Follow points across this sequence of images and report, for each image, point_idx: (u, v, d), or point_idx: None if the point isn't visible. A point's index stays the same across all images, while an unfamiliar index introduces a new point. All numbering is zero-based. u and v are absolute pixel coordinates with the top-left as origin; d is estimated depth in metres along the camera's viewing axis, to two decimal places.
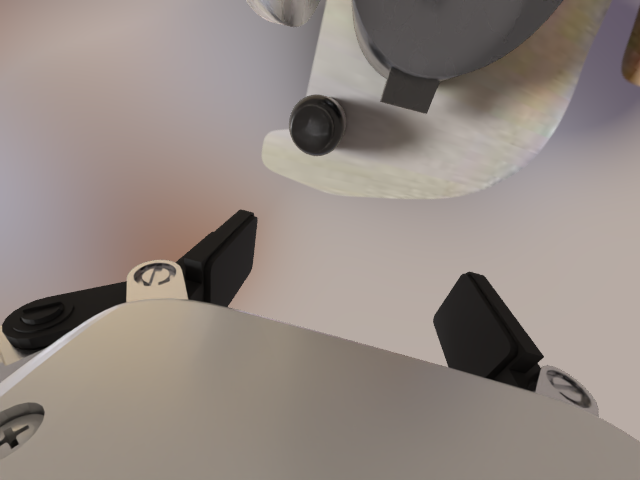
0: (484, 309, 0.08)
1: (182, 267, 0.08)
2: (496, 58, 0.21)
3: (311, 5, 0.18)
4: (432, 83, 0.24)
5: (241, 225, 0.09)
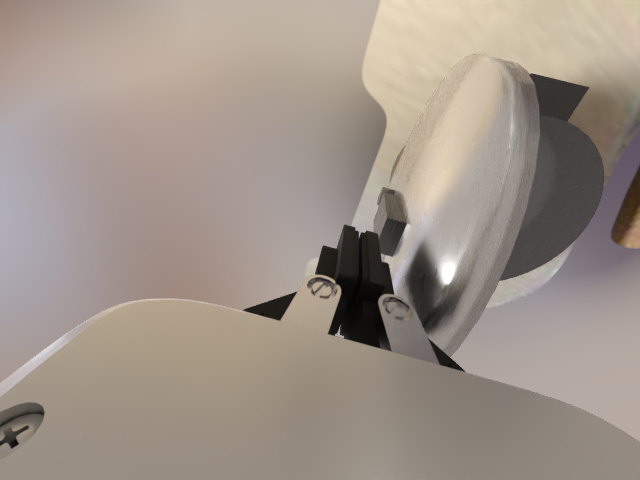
0: (361, 256, 0.10)
1: None
2: (511, 276, 0.28)
3: None
4: None
5: (354, 240, 0.10)
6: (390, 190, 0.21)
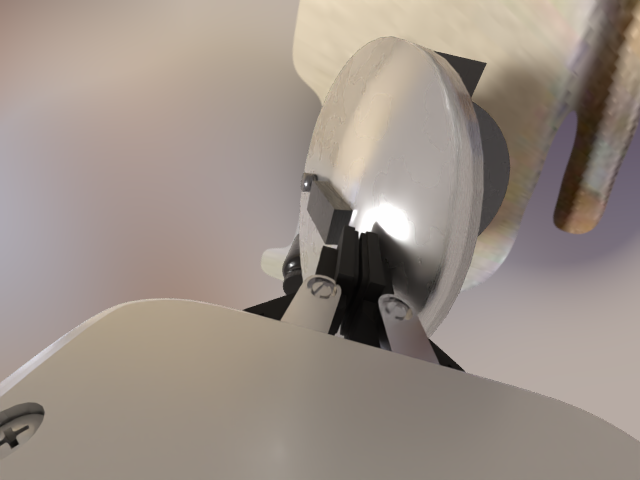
0: (361, 256, 0.10)
1: None
2: None
3: None
4: None
5: (354, 240, 0.10)
6: (312, 175, 0.21)
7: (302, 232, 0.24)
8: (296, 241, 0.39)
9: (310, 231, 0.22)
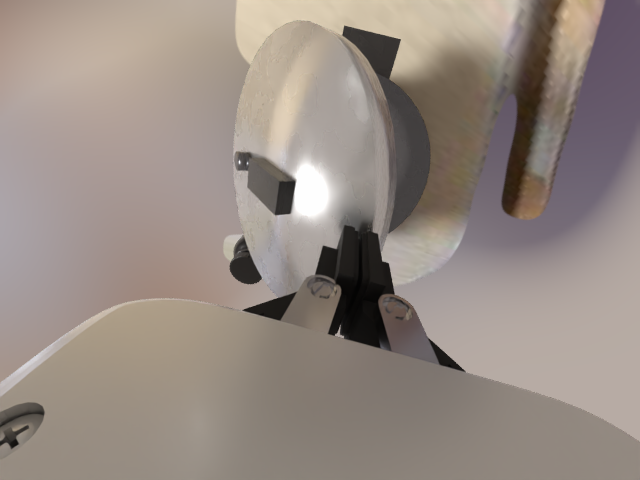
0: (361, 256, 0.10)
1: None
2: None
3: None
4: None
5: (354, 240, 0.10)
6: (245, 153, 0.21)
7: (242, 212, 0.25)
8: None
9: (252, 209, 0.23)
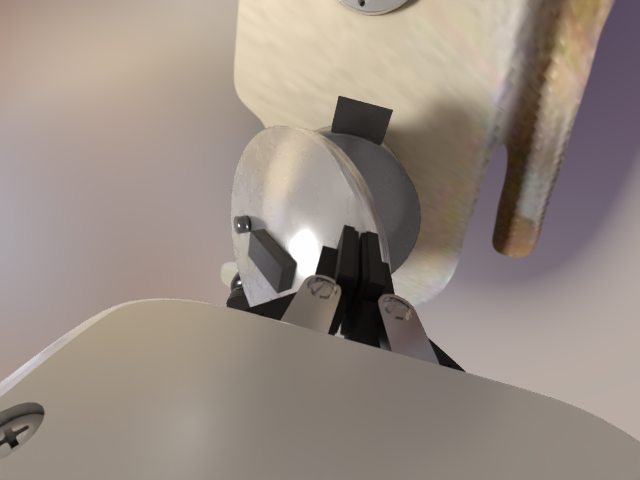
0: (361, 256, 0.10)
1: None
2: None
3: None
4: None
5: (354, 240, 0.10)
6: (245, 218, 0.22)
7: (241, 265, 0.26)
8: None
9: (251, 267, 0.24)
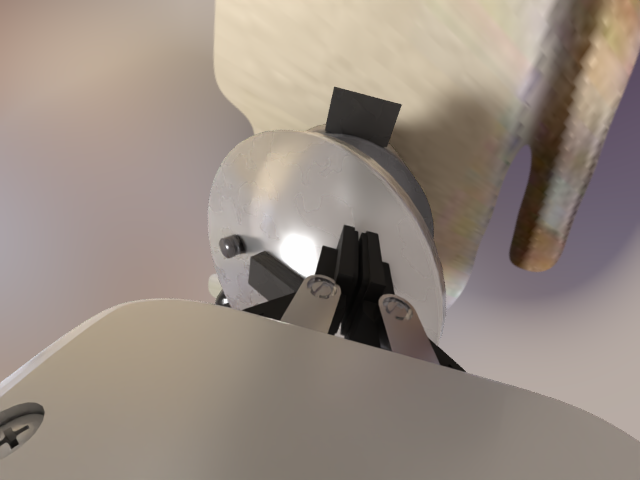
0: (362, 256, 0.10)
1: None
2: None
3: None
4: None
5: None
6: (235, 238, 0.18)
7: (229, 289, 0.22)
8: None
9: (246, 292, 0.20)
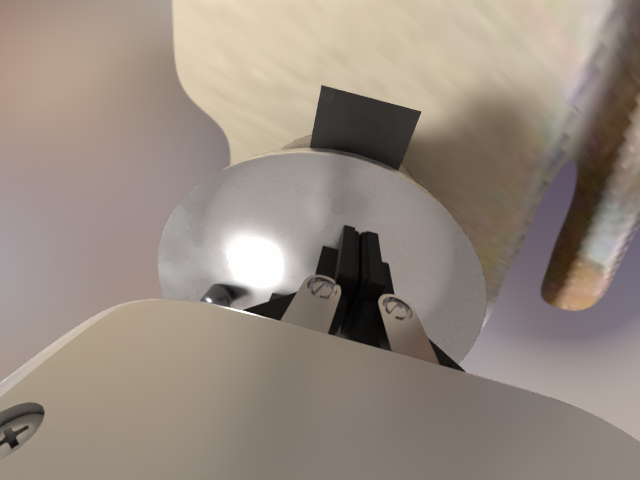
0: (361, 256, 0.10)
1: None
2: None
3: None
4: None
5: (354, 240, 0.10)
6: (222, 289, 0.14)
7: None
8: None
9: None
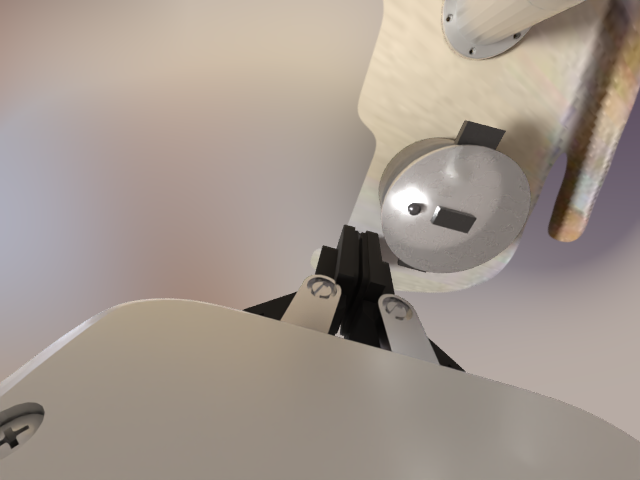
0: (361, 256, 0.10)
1: None
2: None
3: None
4: None
5: (354, 240, 0.10)
6: (417, 203, 0.34)
7: (394, 238, 0.37)
8: None
9: (412, 234, 0.36)
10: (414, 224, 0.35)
